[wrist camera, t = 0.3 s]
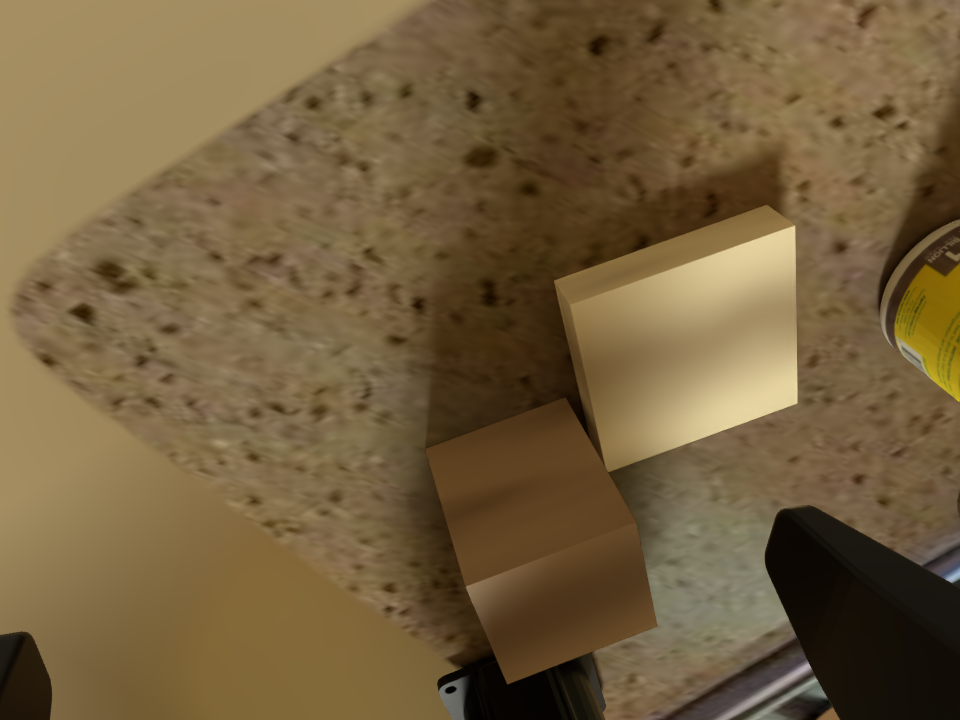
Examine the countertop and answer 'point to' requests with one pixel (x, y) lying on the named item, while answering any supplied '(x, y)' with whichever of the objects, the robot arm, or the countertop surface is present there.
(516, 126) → the countertop surface
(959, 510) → the food container
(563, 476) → the walnut cube
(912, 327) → the supplement bottle
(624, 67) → the countertop surface
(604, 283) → the birch block
